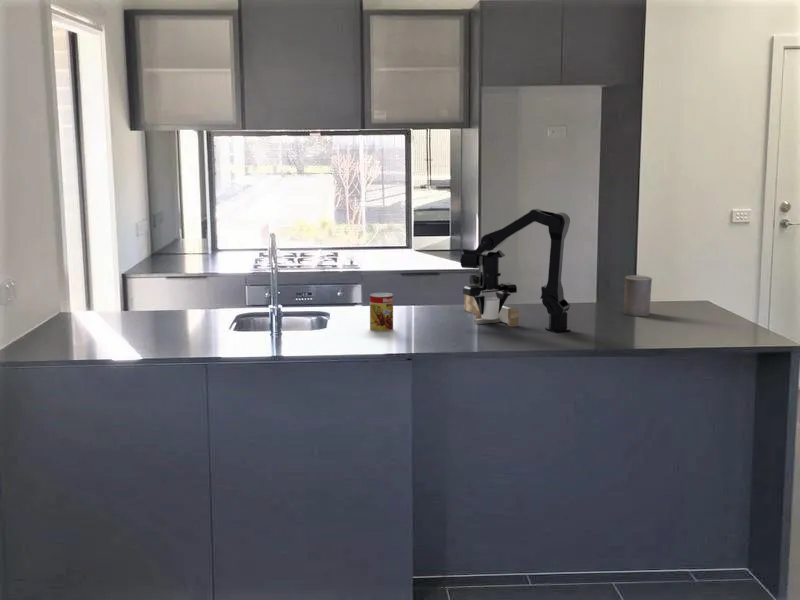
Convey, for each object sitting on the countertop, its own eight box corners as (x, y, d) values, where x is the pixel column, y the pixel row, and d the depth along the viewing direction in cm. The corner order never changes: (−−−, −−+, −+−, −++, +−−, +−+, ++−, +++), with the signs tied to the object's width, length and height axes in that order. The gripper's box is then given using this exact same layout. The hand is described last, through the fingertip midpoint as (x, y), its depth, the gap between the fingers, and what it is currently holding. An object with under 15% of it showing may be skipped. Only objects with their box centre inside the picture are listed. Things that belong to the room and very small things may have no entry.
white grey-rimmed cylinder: (500, 319, 327) (500, 300, 326) (480, 319, 327) (480, 300, 326) (498, 316, 334) (499, 296, 333) (479, 316, 334) (479, 296, 333)
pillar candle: (617, 312, 352) (619, 272, 349) (638, 310, 356) (640, 271, 353) (634, 317, 343) (636, 276, 340) (655, 315, 347) (657, 274, 344)
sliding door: (513, 323, 329) (513, 309, 329) (490, 326, 326) (490, 311, 325) (487, 314, 346) (488, 300, 345) (466, 316, 342) (466, 302, 341)
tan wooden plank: (519, 325, 328) (520, 308, 327) (488, 328, 323) (488, 311, 322) (473, 309, 358) (473, 293, 357) (443, 311, 353) (443, 295, 352)
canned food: (390, 331, 318) (390, 296, 316) (367, 330, 319) (367, 296, 317) (395, 327, 325) (395, 292, 323) (372, 326, 327) (372, 292, 325)
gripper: (502, 265, 339) (501, 307, 341) (455, 268, 331) (455, 311, 334) (518, 269, 329) (517, 313, 331) (470, 272, 321) (470, 317, 324)
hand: (489, 313), depth 330 cm, fingers closed on white grey-rimmed cylinder, 6 cm apart
